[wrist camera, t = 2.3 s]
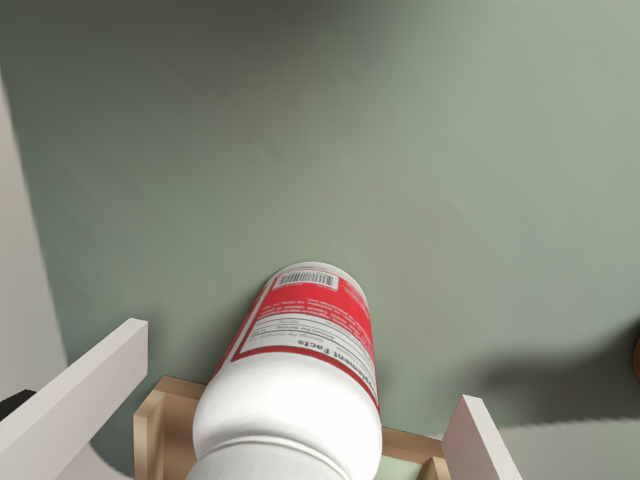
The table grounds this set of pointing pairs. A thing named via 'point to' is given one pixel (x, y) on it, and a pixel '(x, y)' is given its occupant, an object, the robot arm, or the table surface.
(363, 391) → the pill bottle
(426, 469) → the notch board
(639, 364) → the mug
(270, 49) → the table surface
